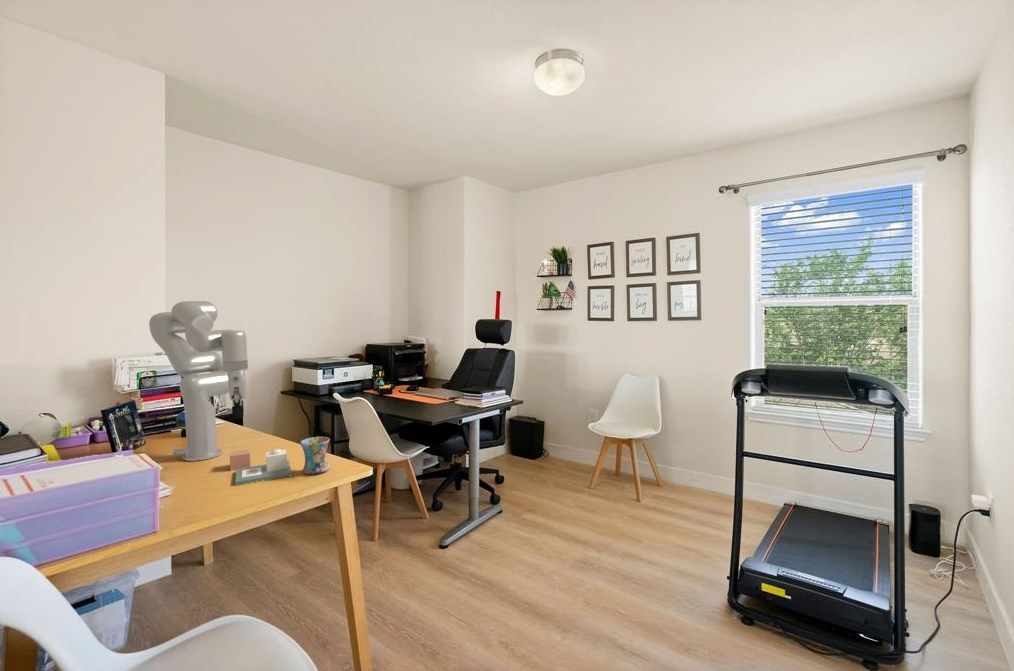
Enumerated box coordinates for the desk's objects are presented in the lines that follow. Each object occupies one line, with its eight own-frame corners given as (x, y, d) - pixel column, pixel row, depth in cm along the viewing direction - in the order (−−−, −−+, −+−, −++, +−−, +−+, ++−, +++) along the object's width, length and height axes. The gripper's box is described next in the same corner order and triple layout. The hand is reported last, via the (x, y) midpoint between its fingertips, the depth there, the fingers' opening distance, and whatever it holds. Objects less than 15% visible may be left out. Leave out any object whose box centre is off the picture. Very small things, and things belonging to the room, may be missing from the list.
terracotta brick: (230, 470, 162) (229, 456, 162) (231, 465, 167) (230, 451, 167) (250, 467, 165) (249, 453, 164) (250, 462, 170) (249, 449, 170)
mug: (297, 471, 160) (295, 440, 159) (324, 465, 166) (323, 435, 165) (310, 480, 151) (309, 447, 150) (339, 473, 157) (337, 441, 156)
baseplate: (235, 485, 148) (234, 462, 147) (236, 472, 160) (235, 451, 160) (291, 475, 155) (290, 454, 155) (288, 464, 168) (287, 444, 167)
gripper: (247, 367, 158) (250, 418, 159) (247, 363, 173) (250, 409, 174) (221, 369, 155) (224, 421, 156) (224, 364, 170) (226, 411, 171)
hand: (238, 415), depth 165 cm, fingers open, 9 cm apart
